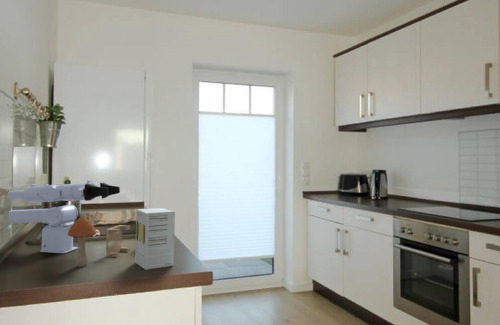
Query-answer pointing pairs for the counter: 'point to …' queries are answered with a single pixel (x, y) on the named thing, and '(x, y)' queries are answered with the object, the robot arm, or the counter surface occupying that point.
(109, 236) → the footstool
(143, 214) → the supplement box
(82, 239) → the mushroom
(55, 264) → the counter surface
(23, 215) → the robot arm
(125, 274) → the counter surface
